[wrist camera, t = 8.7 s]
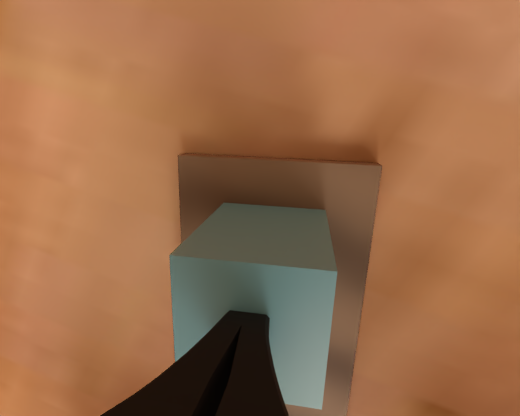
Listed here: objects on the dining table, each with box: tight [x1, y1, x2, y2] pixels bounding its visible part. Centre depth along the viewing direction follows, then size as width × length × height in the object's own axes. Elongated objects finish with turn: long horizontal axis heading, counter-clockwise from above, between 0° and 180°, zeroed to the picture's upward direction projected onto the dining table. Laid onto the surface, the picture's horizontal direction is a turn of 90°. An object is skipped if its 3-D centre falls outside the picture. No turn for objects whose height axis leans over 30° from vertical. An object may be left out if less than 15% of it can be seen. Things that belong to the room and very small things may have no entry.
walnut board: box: [178, 153, 382, 416], centre depth 19 cm, size 22×10×1 cm, turn 178°
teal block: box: [170, 203, 337, 410], centre depth 13 cm, size 5×5×7 cm
